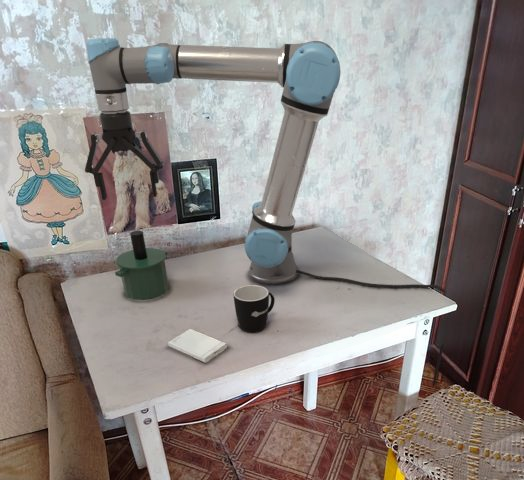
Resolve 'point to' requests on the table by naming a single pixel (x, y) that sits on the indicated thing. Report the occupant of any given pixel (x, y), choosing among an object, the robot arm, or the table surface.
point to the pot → (144, 282)
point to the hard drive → (198, 345)
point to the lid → (140, 254)
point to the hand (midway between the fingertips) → (130, 197)
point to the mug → (252, 307)
